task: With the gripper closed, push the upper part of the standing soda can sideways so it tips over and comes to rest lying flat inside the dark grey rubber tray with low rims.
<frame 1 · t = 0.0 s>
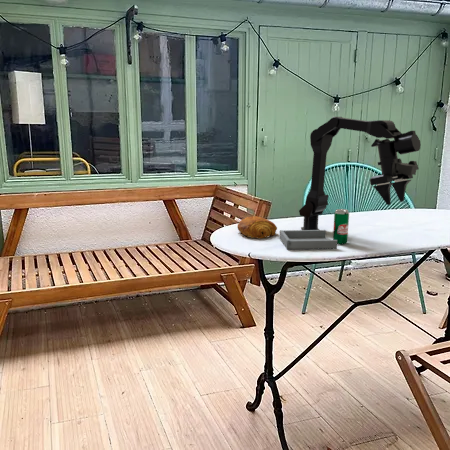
hand: (395, 203, 155), 15 cm above the table, fingers open, 9 cm apart
soda can: (340, 243, 164), on the table
tray: (306, 243, 163), on the table
croissant: (257, 235, 177), on the table
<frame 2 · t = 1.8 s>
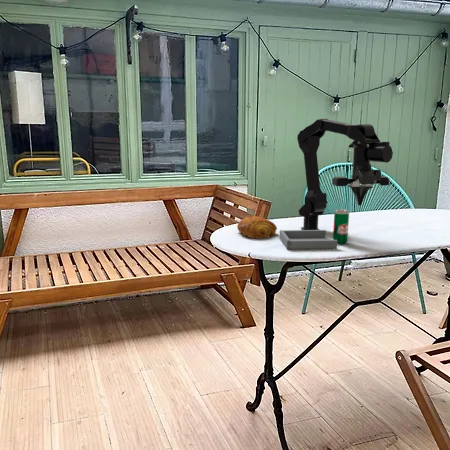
hand: (359, 205, 163), 13 cm above the table, fingers closed
nothing on the table moved.
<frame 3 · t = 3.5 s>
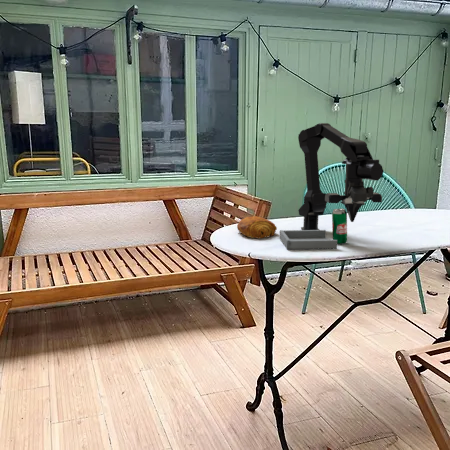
hand: (351, 221, 162), 8 cm above the table, fingers closed
soda can: (340, 243, 164), on the table, touching gripper
everything else where it was.
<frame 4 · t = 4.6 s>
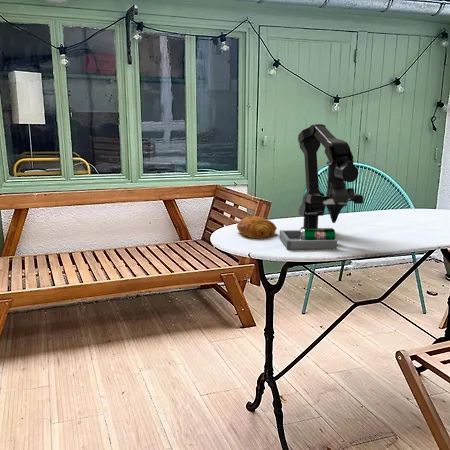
hand: (333, 222, 162), 7 cm above the table, fingers closed
soda can: (334, 235, 163), point 3 cm above the table, touching tray
everything else where it was.
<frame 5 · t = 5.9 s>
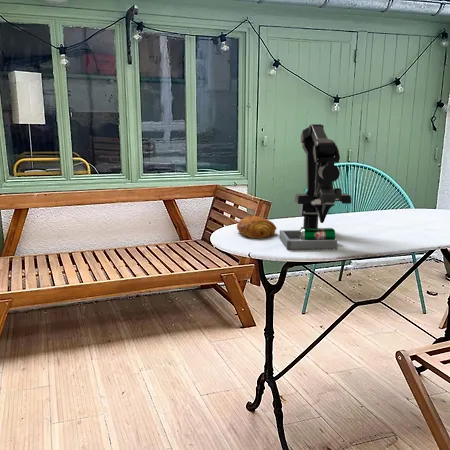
hand: (321, 222, 162), 7 cm above the table, fingers closed
nothing on the table moved.
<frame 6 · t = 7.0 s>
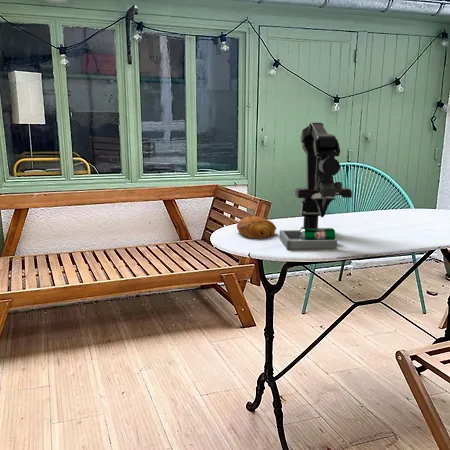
hand: (322, 217, 161), 10 cm above the table, fingers closed
nothing on the table moved.
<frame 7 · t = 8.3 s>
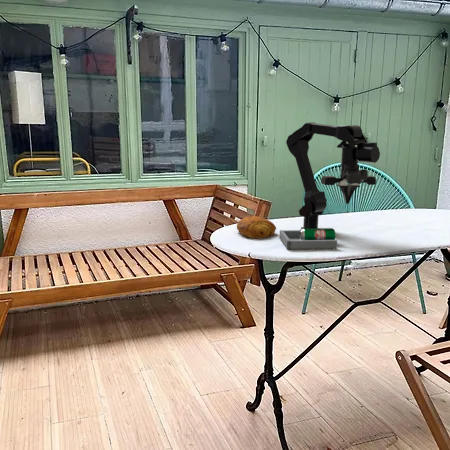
hand: (347, 203, 168), 13 cm above the table, fingers closed
nothing on the table moved.
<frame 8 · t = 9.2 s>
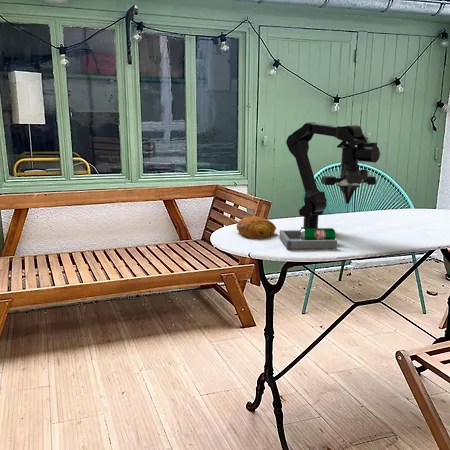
hand: (347, 203, 168), 13 cm above the table, fingers closed
nothing on the table moved.
at the end: soda can tilted 90°; soda can inside the target area on the tray (9.8 cm from its centre), point 2.9 cm above the tray's base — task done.
